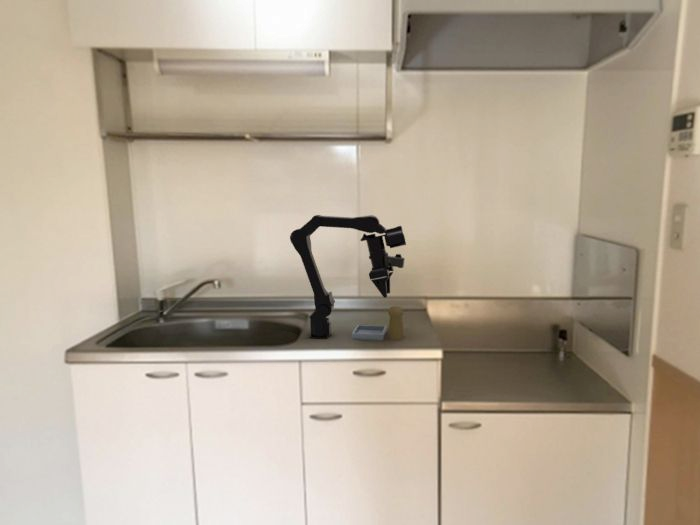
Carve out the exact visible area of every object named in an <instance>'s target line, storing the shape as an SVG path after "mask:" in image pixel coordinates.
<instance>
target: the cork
mask: <svg viewBox="0 0 700 525" xmlns="http://www.w3.org/2000/svg"><path fill="white" fill-rule="evenodd" d="M388 315H389V321H388V328H387V339H388V340H390V341H403V340H404V339H405V338H406V337H405V329H404V323H403V315H404V308H402V307H401V306H391V307H389V308H388Z"/></svg>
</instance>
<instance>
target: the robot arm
mask: <svg viewBox="0 0 700 525" xmlns="http://www.w3.org/2000/svg"><path fill="white" fill-rule="evenodd" d="M320 227H321V228H322V227H324V228H341V229H351V230H356V231H360V232H364V233H363V234H362V237H361V239H360V242H364V241H366V245H367V249H368V255H369V256H368V258H369V260H370V262H371V263H370V264H371V270H370V272H369V273H368V276H369V280H371V282H372V284H373V285H374V286H375V288H376V289H377V290H378V291H379V293H380V295H381V296H382V297H383V298H385V299H386V298H388V294H391V277H392V275H393V274H394V270H395V269H394V268H396V267H397V268H398V269H403V268H404V266H405V258H404V257H402V254H399V253H396V254H395V256H391V255H389V253H388V252H387V251H386V247H389V249H393V248H399V247H402V246H406V245H407V242H406V238H405V234H404V232H403V227H402V225H398V226H395V227H392V228H388V229H387V228H386V227H385V226H383V224H381V223H380V220H379V218H378V217H377V216H376V215H363V216H356V217H355V216H354V217H350V216H349V217H348V216H334V215H333V216H331V215H321V214H317V215H313V216H312V217H311V218H310V220H309V221H308V222H306V223H305V224H304V225H303V226H302V227H300V228H297V229H295V230H293V231H292V232H291V233H290V236H289V240H290V242H291V244H292V246H293V248H294V250H295V251H296V253H298V255H299V256H300V259H301V262H302V264H303V268H304V270H305V273H306V276H307V279H308V281H309V283H310V284H309V285H310V286H311V289H312V292H313V303H314V310H313V311H312V313H311V314H310V315H309V320H310V324H309V325H310V335H309V338H310V339H328V338H329V337H330V335H331V334H332V323H331V322H330V317H329V316H330V315H331V314H332V312H333V310H334V308H335V303H336V300H335V299H334V297H333V293H332V291H330V292H328V291H327V290H326V288H325V286H324V283H323V279H322V277H321V274H320V272H319V269H318V266H317V264H316V260H315V258H314V255H313V252H312V242H311V241H312V240H311V235H312V234H314V233H315V232H316V231H317V230H318V229H319V228H320ZM366 233H368V234H366ZM376 234H379V235H376Z"/></svg>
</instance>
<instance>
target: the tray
mask: <svg viewBox="0 0 700 525" xmlns="http://www.w3.org/2000/svg"><path fill="white" fill-rule="evenodd" d="M387 333H388V327H387V325H374V324H373V325H368V324H366V325H365V324H357V325H356V327H355V328H354V330H353V331H352V333H351V340H353V339H354V340H356V341H357V340H358V341H376V342H377V341H379V342H382V341H384V338H385V336H386V335H387Z"/></svg>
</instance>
